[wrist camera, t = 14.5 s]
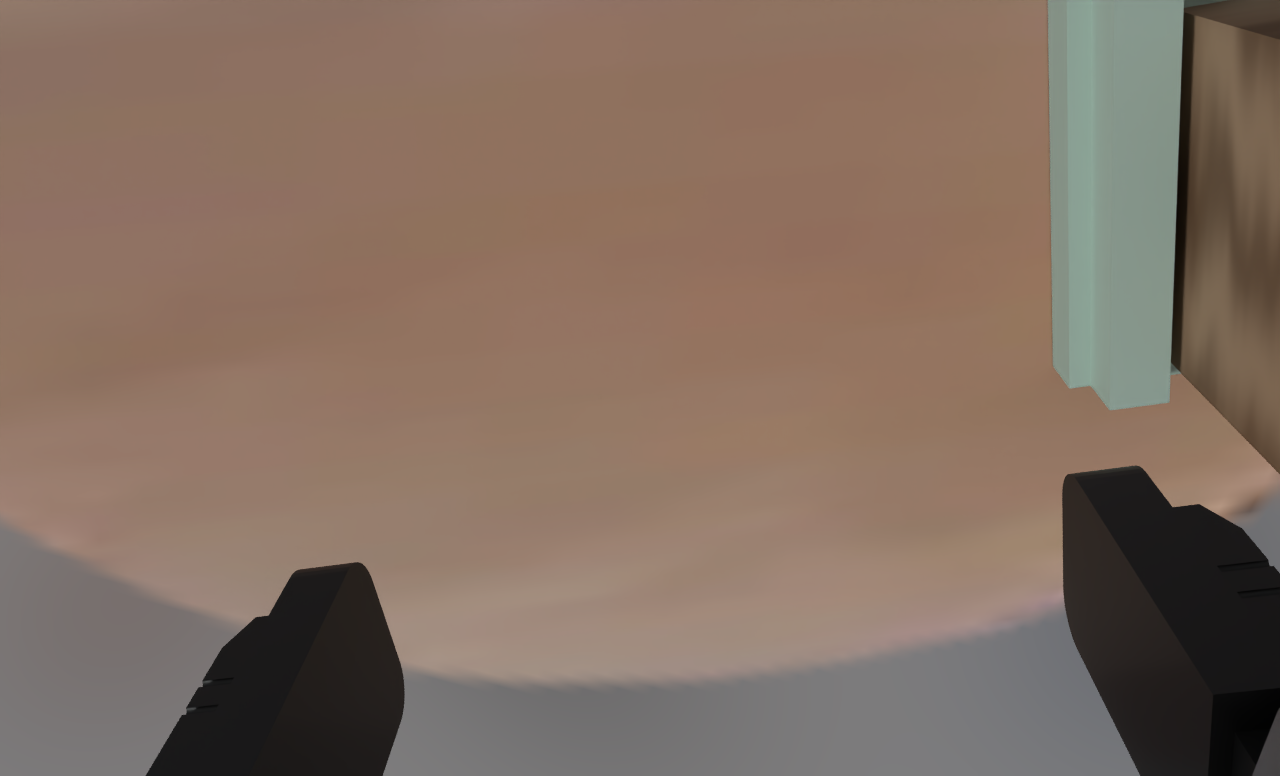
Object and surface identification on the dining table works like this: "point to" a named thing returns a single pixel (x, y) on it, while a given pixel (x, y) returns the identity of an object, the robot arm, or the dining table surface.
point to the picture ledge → (1114, 193)
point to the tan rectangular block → (1230, 216)
